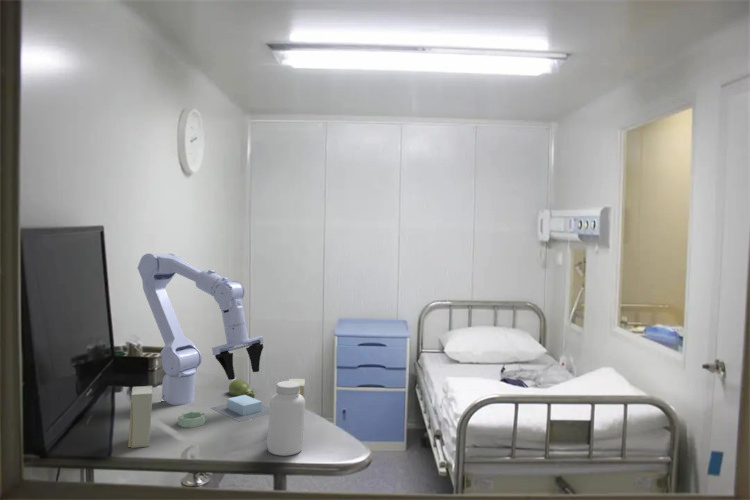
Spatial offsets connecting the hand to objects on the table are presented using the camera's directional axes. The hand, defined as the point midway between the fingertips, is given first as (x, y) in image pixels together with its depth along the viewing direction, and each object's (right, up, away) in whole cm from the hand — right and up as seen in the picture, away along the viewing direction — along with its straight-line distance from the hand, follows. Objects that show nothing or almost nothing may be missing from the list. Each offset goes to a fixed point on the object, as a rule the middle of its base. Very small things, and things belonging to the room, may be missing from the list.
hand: (244, 375), depth 131 cm
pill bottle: (+15, -12, -20) cm, 28 cm away
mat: (-1, -11, +2) cm, 11 cm away
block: (-1, -10, +2) cm, 10 cm away
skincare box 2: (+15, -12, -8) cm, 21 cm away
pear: (-5, -11, +15) cm, 19 cm away
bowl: (-11, -11, -10) cm, 18 cm away
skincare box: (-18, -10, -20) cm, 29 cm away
